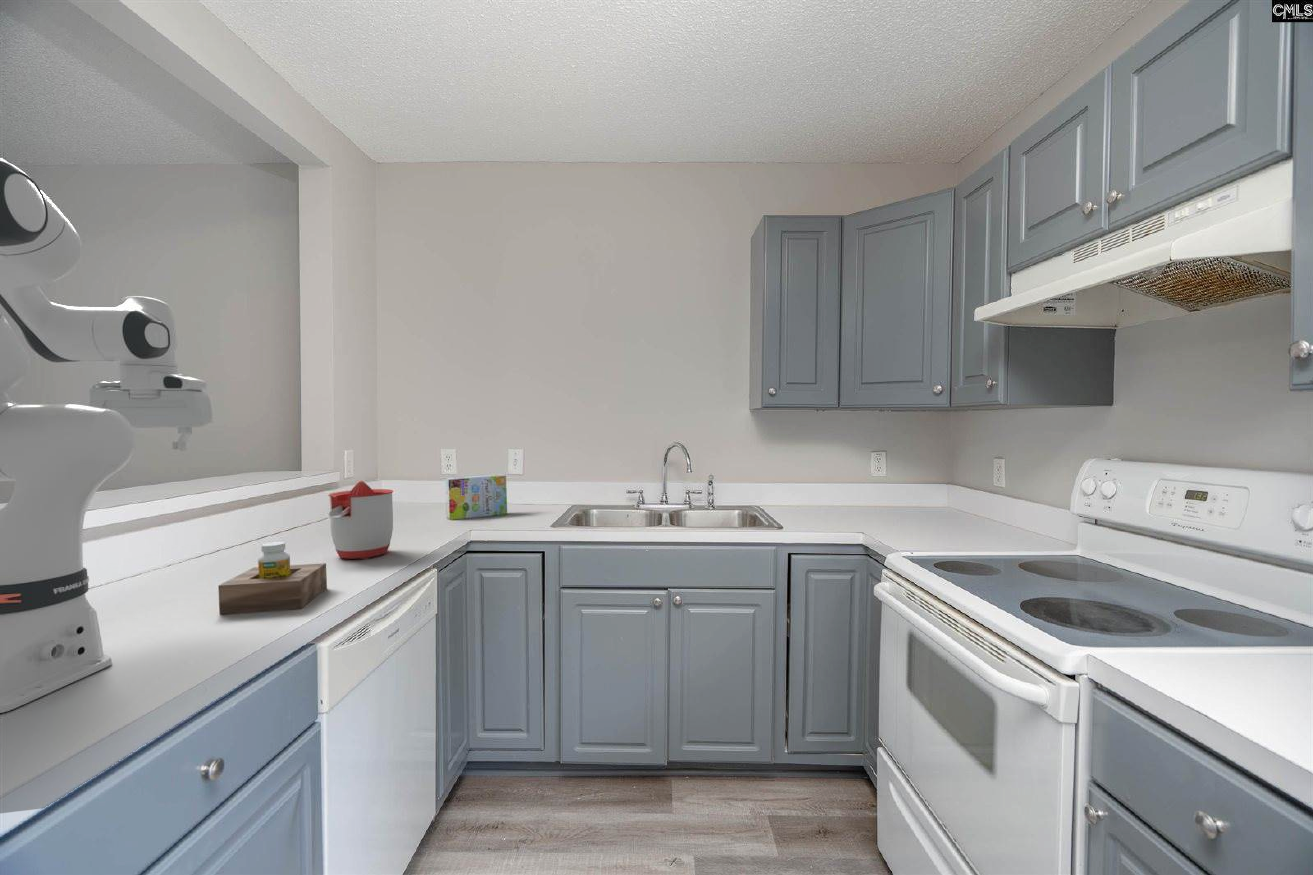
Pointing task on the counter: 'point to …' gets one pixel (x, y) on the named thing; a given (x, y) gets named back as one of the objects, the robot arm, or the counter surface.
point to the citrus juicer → (361, 521)
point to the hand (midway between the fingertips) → (153, 451)
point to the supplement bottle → (274, 561)
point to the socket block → (272, 590)
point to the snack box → (476, 496)
